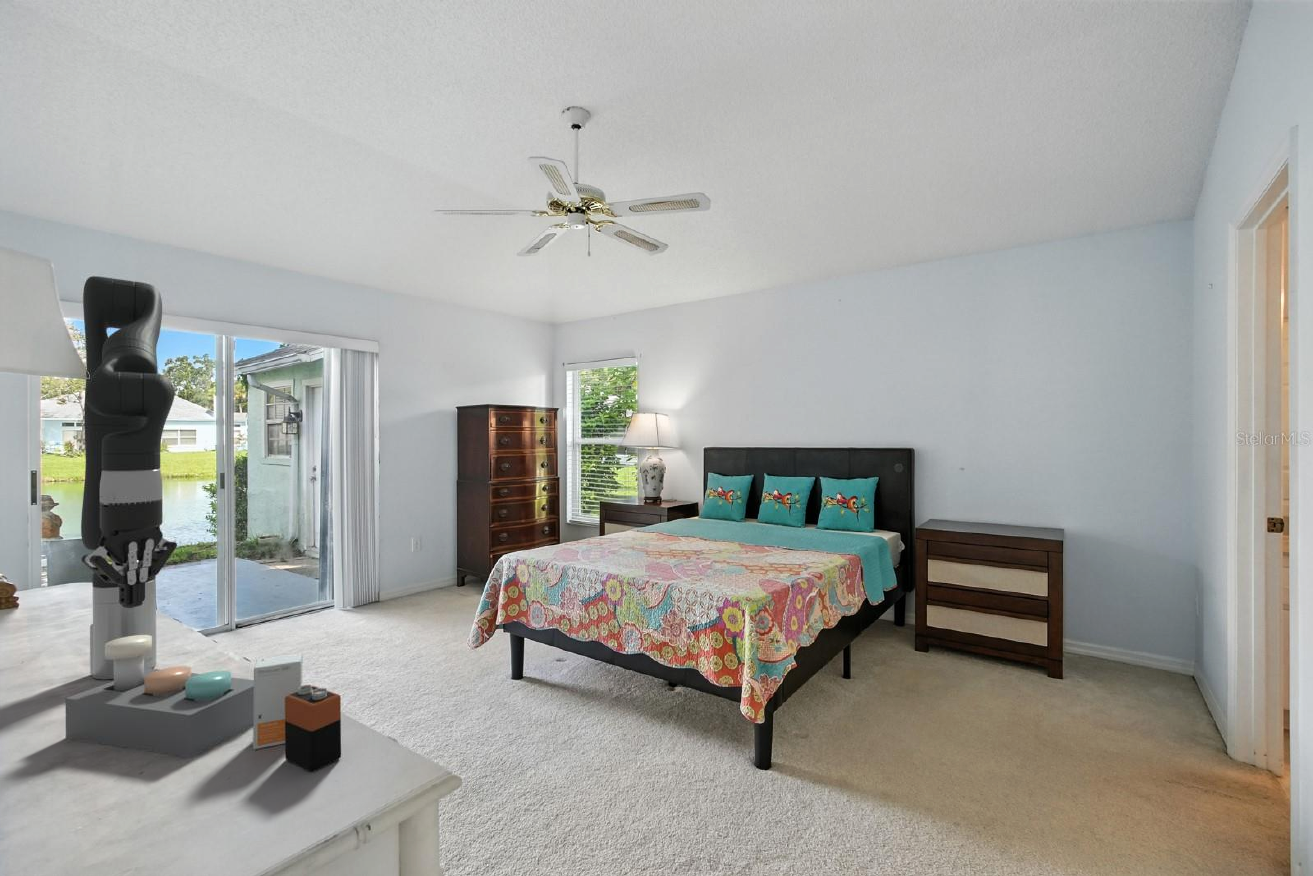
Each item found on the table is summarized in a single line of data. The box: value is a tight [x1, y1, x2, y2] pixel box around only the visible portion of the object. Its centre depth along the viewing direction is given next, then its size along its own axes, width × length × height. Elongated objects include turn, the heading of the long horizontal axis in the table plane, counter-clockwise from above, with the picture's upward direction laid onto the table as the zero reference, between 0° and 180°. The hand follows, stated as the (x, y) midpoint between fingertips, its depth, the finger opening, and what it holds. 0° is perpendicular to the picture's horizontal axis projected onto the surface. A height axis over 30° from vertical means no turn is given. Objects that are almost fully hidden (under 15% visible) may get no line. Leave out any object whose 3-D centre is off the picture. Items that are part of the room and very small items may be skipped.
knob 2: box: [185, 670, 232, 702], centre depth 91 cm, size 6×6×8 cm
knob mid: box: [144, 665, 192, 697], centre depth 93 cm, size 6×6×8 cm
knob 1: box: [105, 635, 152, 692], centre depth 95 cm, size 6×6×8 cm
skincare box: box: [252, 652, 304, 750], centre depth 90 cm, size 6×4×12 cm
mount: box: [65, 668, 254, 758], centre depth 93 cm, size 24×12×6 cm, turn 76°
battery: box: [284, 684, 342, 772], centre depth 84 cm, size 4×7×10 cm, turn 60°
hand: (132, 606), depth 96 cm, fingers closed
